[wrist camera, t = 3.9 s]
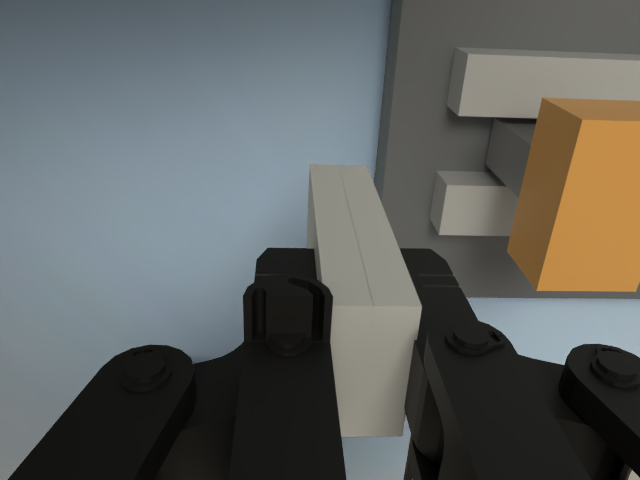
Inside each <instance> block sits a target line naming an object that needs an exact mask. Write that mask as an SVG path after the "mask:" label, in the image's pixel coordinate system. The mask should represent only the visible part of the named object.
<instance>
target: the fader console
mask: <svg viewBox="0 0 640 480" xmlns="http://www.w3.org/2000/svg"><path fill="white" fill-rule="evenodd" d="M542 98H569V99H598V100H628V101H640V0H392V7H391V17H390V27H389V38H388V48H387V58H386V69H385V79H384V89H383V100H382V110H381V120H380V131H379V141H378V152H377V162H376V172H375V183H374V185H375V188H376V190H377V193H378V195H379V198H380V201H381V203H382V206H383V208H384V211H385V213H386V216H387V218H388V221H389V223H390V226H391V229H392V231H393V234H394V236H395V239H396V241H397V244H398V246H399V248H424V249H432V250H433V251H434V252H436V253H437V254H438V255H440V256H441V257H442V258H444V259H445V260H446V261H447V263H448V265H449V267H450V269H451V271H452V272H453V276H455V278H456V280H457V282H458V284H459V287H461V289H462V291H463V293H464V295H465V297H497V298H624V299H640V282H639V285H638V287H637V290H636V292H618V291H536V289H535V288H534V287H533V285H532V284H531V283H530V281H529V280H528V279H527V277H526V276H525V275H524V273H523V272H522V271H521V269H520V268H519V267H518V265H517V264H516V263H515V261H514V260H513V259H512V257H511V256H510V255H509V253H508V252H507V248H508V244H509V239H510V235H511V231H512V226H513V222H514V218H515V213H516V209H517V205H518V200H519V199H518V197H517V196H516V195H515V194H514V193H513V192H512V191H511V190H510V189H509V188H508V187H507V186H506V185H505V184H504V183H503V182H502V181H501V180H500V179H499V178H498V177H497V176H496V175H495V174H494V173H493V172H492V170H491V169H490V168H489V167H488V166H487V165H486V164H485V163H486V158H487V153H488V147H489V142H490V137H491V132H492V127H493V121H494V117H506V118H538V113H539V109H540V105H541V100H542Z"/></svg>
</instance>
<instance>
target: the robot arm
mask: <svg viewBox="0 0 640 480" xmlns="http://www.w3.org/2000/svg"><path fill="white" fill-rule="evenodd" d="M243 311H244V342H243V343H242V344H241V345H240V346H239V347H238V348H236V349H235V350H234V351H232V352H230V353H228V354H226V355H224V356H222V357H219V358H216V359H212V360H209V361H204V362H200V363H195V364H193V363H192V360H191V358H190V357H189V356H188V355H187V354H185V353H184V352H183V351H182V350H180V349H177V348H173V347H170V346H167V345H146V346H141V347H137V348H132V349H129V350H127V351H125V352H123V353H121V354H118V355H116V356H114V357H113V358H112V359H111V360H110V361H109V362H107V363H106V364H105V365H104V366H103V367H102V368H101V369H100V370H99V371H98V373H97V374H96V375H95V376H94V377H93V379H92V380H91V381H90V382H89V383H88V385H87V386H86V387H85V388H84V389H83V390H82V392H81V393H80V394H79V395H78V396H77V398H76V399H75V400H74V401H73V402H72V404H71V405H70V406H69V407H68V408H67V410H66V411H65V412H64V413H63V414H62V416H61V417H60V418H59V419H58V420H57V421H56V423H55V424H54V425H53V426H52V427H51V429H50V430H49V431H48V432H47V433H46V435H45V436H44V437H43V438H42V439H41V441H40V442H39V443H38V444H37V445H36V447H35V448H34V449H33V450H32V451H31V452H30V454H29V455H28V456H27V457H26V458H25V460H24V461H23V462H22V463H21V464H20V466H19V467H18V468H17V469H16V470H15V472H14V473H13V474H12V475H11V476H10V478H9V479H8V480H346V473H345V465H344V456H343V448H342V439H341V437H378V436H402V434H403V428H404V421H405V415H406V416H407V420H408V424H409V428H410V432H411V437H410V444H409V450H408V456H407V462H406V468H405V474H404V480H412V479H413V480H628V478H629V475H630V473H631V471H632V470H633V471H634V472H635V473H636V474H637V475H638V476H639V477H640V358H639V357H638V356H636V355H634V354H632V353H629V352H627V351H624V350H622V349H620V348H617V347H613V346H608V345H602V344H583V345H581V346H578V347H575V348H573V349H572V350H571V352H570V353H569V355H568V356H567V359H566V362H565V365H560V364H556V363H551V362H546V361H541V360H537V359H532V358H528V357H525V356H521V355H518V354H517V352H516V350H515V349H514V347H513V345H512V344H511V342H510V341H509V340H508V339H507V338H506V336H505V335H504V334H503V333H502V332H500V331H499V330H497V329H495V328H494V327H492V326H491V325H489V324H486V323H483V322H480V321H478V319H477V317H476V315H475V314H474V312H473V310H472V308H471V306H470V304H469V302H468V300H467V299H466V297H465V295H464V293H463V291H462V289H461V287H459V284H458V282H457V280H456V278H455V276H453V272H452V271H451V269H450V267H449V265H448V263H447V261H446V260H445V259H444V258H442V257H441V256H440V255H438V254H437V253H436V252H434V251H433V250H432V249H424V248H399V246H398V244H397V241H396V239H395V236H394V234H393V231H392V229H391V226H390V223H389V221H388V218H387V216H386V213H385V211H384V208H383V206H382V203H381V201H380V198H379V195H378V193H377V190H376V188H375V185H374V183H373V180H372V178H371V175H370V172H369V170H368V167H367V166H353V165H313V164H310V168H309V195H308V222H307V248H267V249H266V250H265V251H264V252H263V253H262V255H261V256H260V257H259V258H258V259H257V262H256V272H255V281H254V283H253V284H251V285H250V286H248V287H247V289H246V291H245V293H244V295H243Z"/></svg>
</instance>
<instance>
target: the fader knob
mask: <svg viewBox="0 0 640 480" xmlns="http://www.w3.org/2000/svg"><path fill="white" fill-rule="evenodd" d="M485 164H486V165H487V166H488V167H489V168H490V169H491V170H492V172H493V173H494V174H495V175H496V176H497V177H498V178H499V179H500V180H501V181H502V182H503V183H504V184H505V185H506V186H507V187H508V188H509V189H510V190H511V191H512V192H513V193H514V194H515V195H516V196H517V197H518V199H519V200H518V205H517V209H516V213H515V218H514V222H513V226H512V231H511V235H510V239H509V244H508V248H507V252H508V253H509V255H510V256H511V257H512V259H513V260H514V261H515V263H516V264H517V265H518V267H519V268H520V269H521V271H522V272H523V273H524V275H525V276H526V277H527V279H528V280H529V281H530V283H531V284H532V285H533V287H534V288H535V289H536V291H618V292H636V290H637V287H638V285H639V282H640V101H628V100H598V99H569V98H542V100H541V105H540V109H539V113H538V118H506V117H494V121H493V127H492V132H491V137H490V142H489V147H488V153H487V158H486V163H485Z"/></svg>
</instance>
